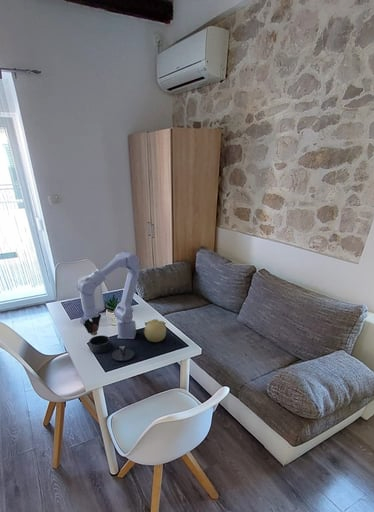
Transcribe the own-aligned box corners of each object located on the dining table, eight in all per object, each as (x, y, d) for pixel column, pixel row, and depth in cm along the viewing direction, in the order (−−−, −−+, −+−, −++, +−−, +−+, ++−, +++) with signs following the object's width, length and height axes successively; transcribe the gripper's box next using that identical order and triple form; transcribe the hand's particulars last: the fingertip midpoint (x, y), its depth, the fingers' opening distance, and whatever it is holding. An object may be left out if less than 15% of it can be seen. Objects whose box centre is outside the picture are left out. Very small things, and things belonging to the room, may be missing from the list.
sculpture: (166, 333, 173) (166, 316, 167) (165, 344, 163) (165, 326, 157) (146, 333, 172) (144, 315, 167) (144, 344, 162) (142, 326, 157)
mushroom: (98, 331, 159) (96, 320, 156) (99, 335, 155) (97, 324, 152) (88, 332, 158) (86, 321, 155) (89, 336, 154) (87, 326, 151)
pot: (112, 343, 163) (111, 335, 160) (108, 353, 154) (107, 345, 152) (93, 342, 163) (92, 335, 161) (88, 353, 155) (86, 345, 152)
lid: (134, 349, 158) (133, 340, 155) (135, 361, 149) (134, 352, 146) (112, 351, 156) (110, 342, 154) (111, 363, 147) (110, 354, 145)
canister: (101, 313, 193) (97, 282, 182) (80, 313, 193) (74, 281, 182) (106, 304, 205) (102, 275, 194) (86, 304, 205) (81, 274, 194)
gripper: (87, 312, 141) (91, 338, 149) (104, 301, 153) (107, 325, 160) (74, 310, 143) (79, 336, 151) (92, 299, 155) (96, 323, 162)
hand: (93, 330), depth 156 cm, fingers closed on mushroom, 5 cm apart
